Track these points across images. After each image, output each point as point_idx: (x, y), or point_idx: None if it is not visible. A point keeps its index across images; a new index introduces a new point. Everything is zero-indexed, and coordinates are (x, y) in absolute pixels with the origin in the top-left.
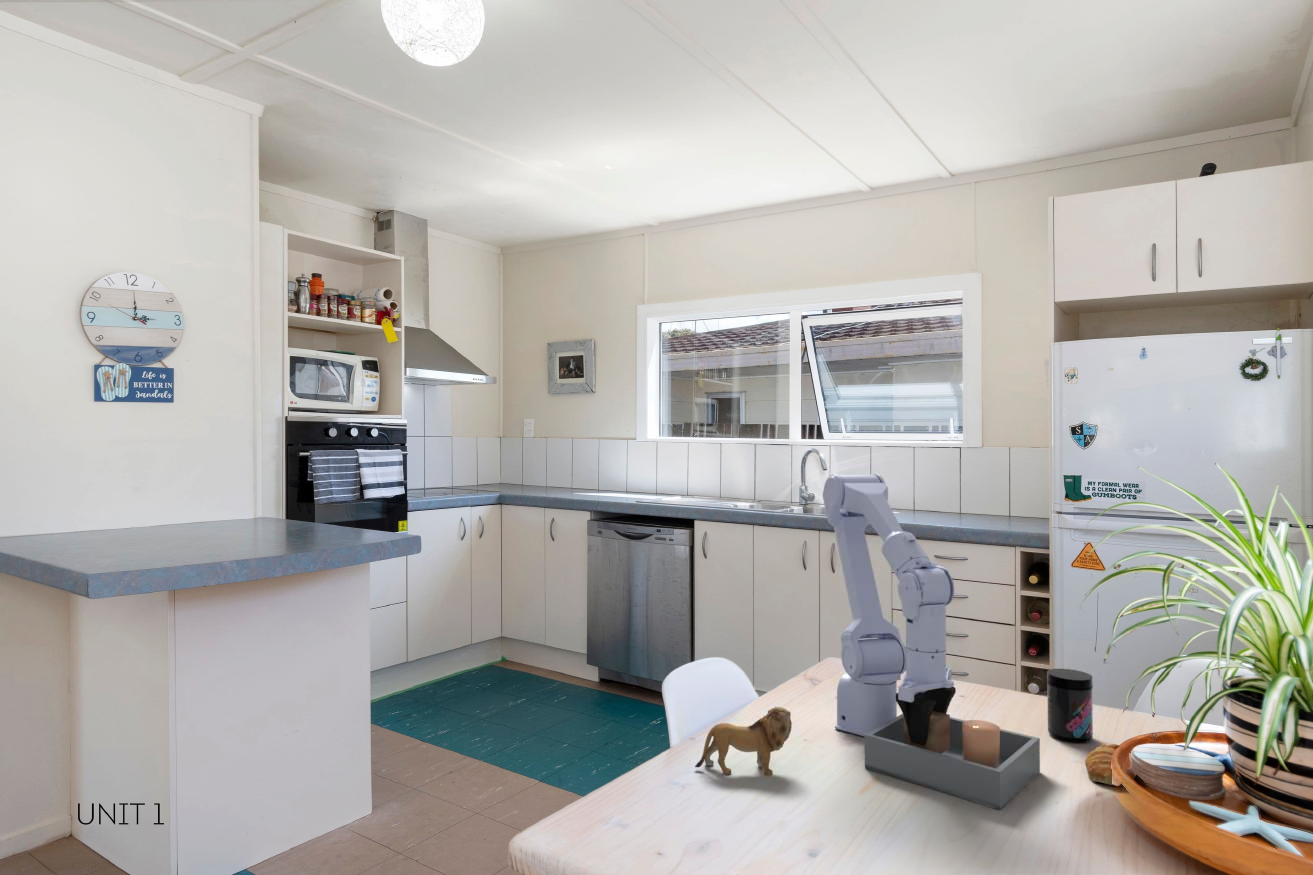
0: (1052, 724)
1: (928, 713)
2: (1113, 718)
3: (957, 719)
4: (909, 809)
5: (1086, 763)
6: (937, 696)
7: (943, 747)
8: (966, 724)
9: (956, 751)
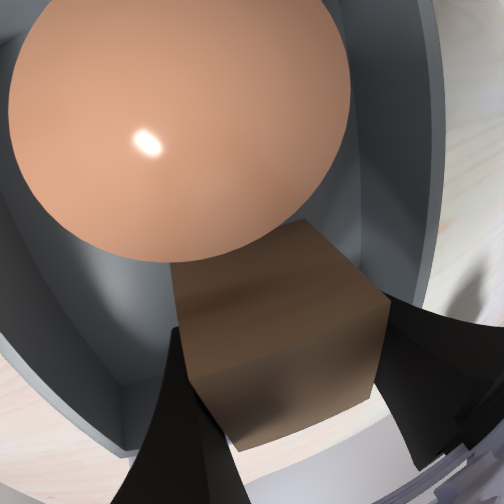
0: None
1: (467, 329)
2: None
3: (31, 377)
4: (458, 124)
5: None
6: (229, 495)
7: (239, 250)
8: (264, 197)
9: (76, 284)
